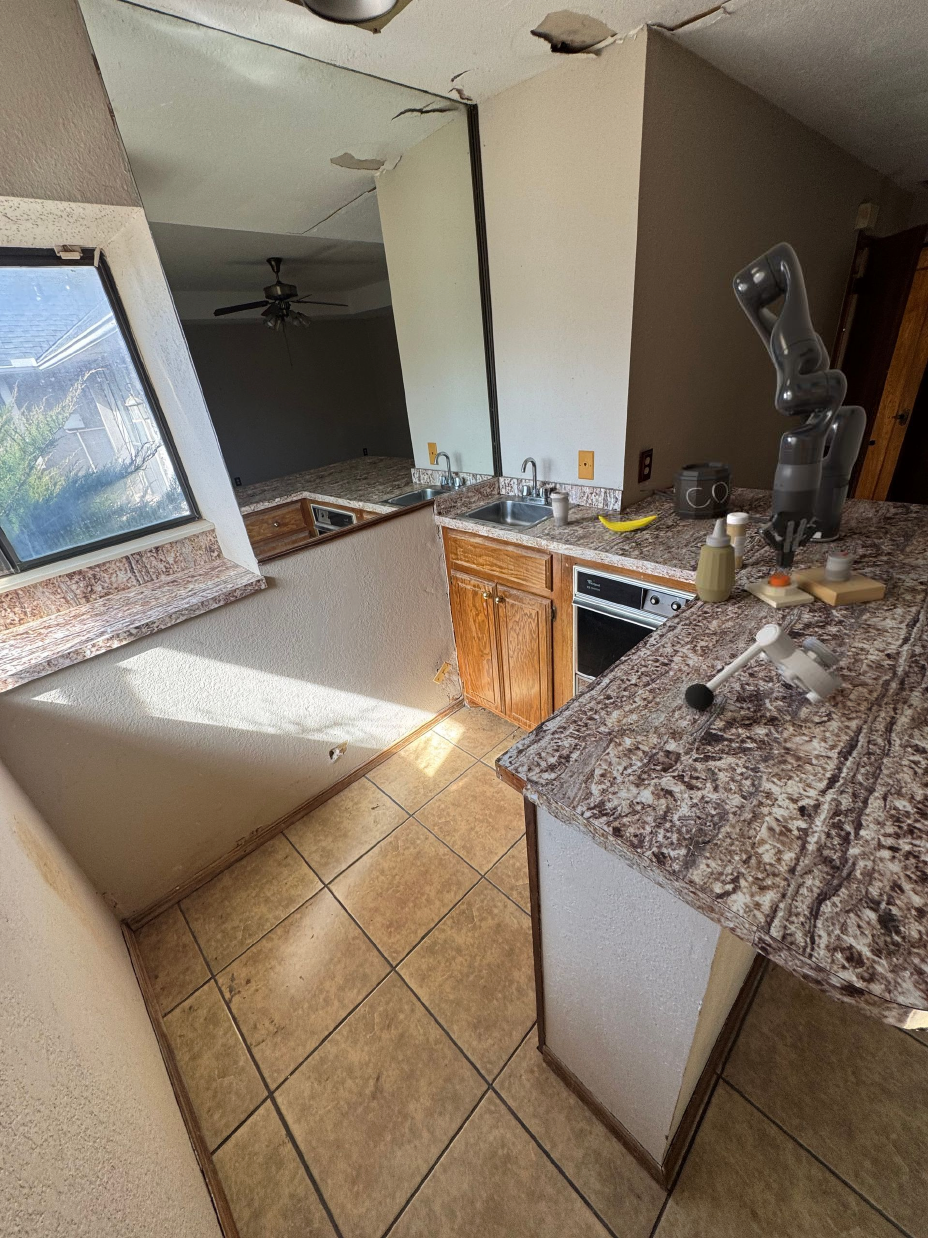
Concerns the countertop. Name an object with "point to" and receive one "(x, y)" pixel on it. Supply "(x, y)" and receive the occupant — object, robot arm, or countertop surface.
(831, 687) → the valve
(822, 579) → the panel
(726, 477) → the octagonal grey canister
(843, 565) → the knob
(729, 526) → the sprinkles bottle
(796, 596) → the button block
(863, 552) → the countertop surface
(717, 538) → the squeeze bottle
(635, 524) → the banana
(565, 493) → the cup
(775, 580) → the button
